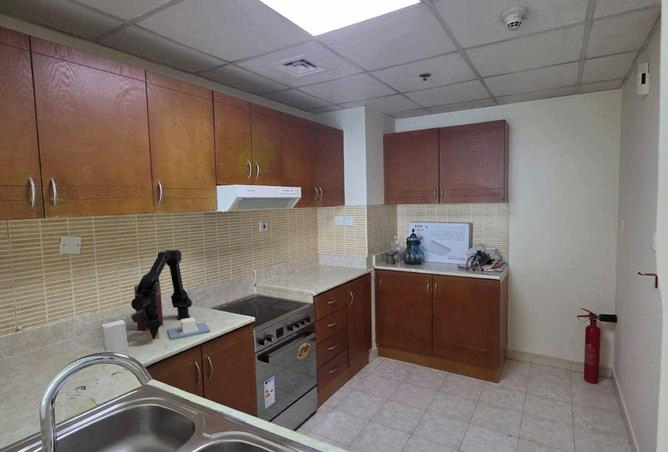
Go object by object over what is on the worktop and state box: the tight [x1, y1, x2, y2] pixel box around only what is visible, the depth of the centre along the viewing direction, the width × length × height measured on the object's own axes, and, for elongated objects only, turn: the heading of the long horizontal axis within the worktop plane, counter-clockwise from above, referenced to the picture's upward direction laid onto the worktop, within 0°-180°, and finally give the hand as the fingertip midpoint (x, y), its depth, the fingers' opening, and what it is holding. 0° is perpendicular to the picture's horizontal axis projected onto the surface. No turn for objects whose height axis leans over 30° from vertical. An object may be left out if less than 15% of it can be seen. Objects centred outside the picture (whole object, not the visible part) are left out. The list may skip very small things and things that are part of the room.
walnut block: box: [145, 328, 160, 342], centre depth 178 cm, size 5×5×5 cm
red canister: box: [133, 282, 164, 332], centre depth 192 cm, size 9×11×28 cm
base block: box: [180, 317, 197, 333], centre depth 185 cm, size 6×6×5 cm
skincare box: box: [101, 319, 129, 356], centre depth 157 cm, size 8×6×15 cm
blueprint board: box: [167, 322, 211, 341], centre depth 185 cm, size 14×18×1 cm
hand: (152, 335), depth 178 cm, fingers open, 9 cm apart
